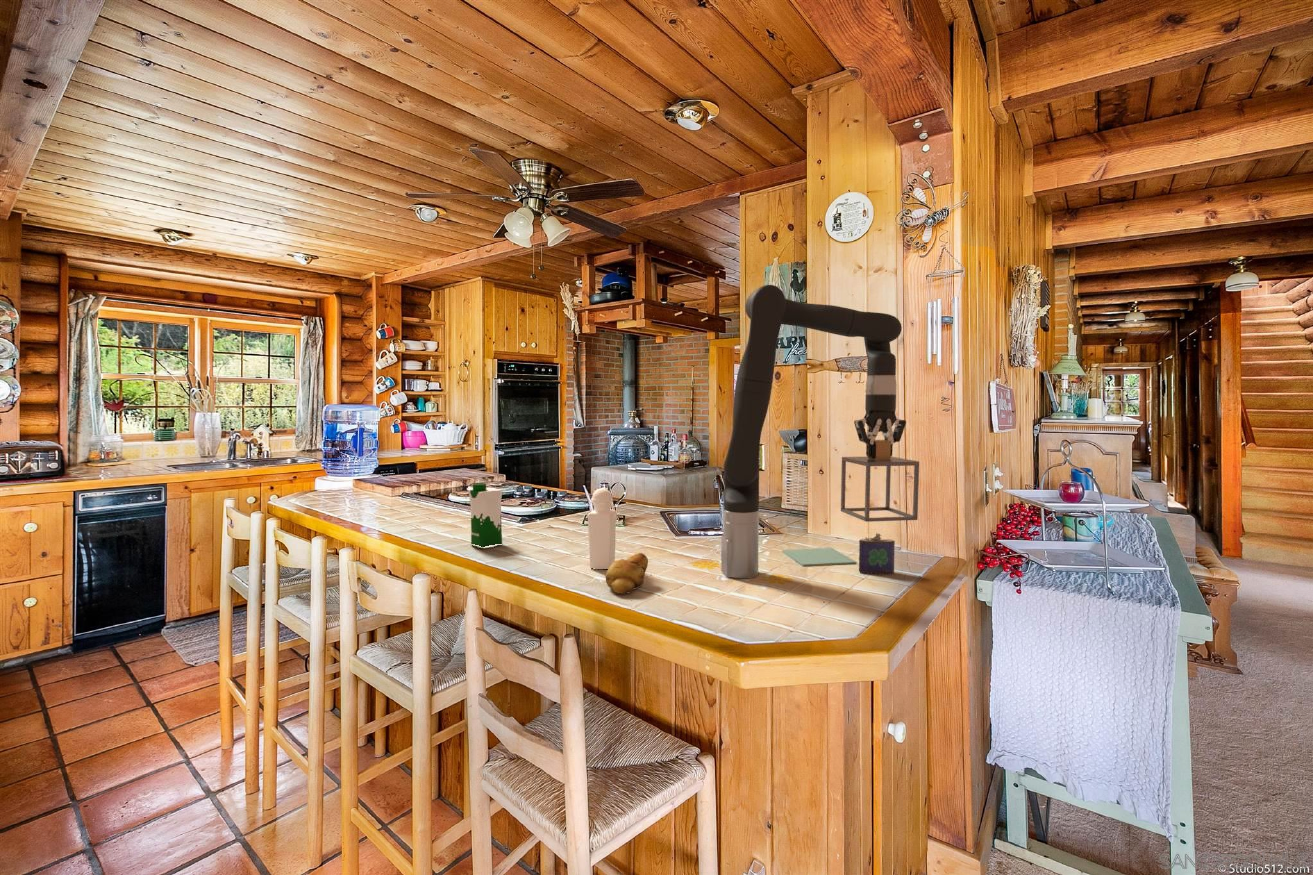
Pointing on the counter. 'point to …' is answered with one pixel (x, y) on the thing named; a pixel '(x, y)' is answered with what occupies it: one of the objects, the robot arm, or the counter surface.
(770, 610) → the counter surface
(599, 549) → the beige bottle
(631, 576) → the bread roll
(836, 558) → the mat
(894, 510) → the metal frame side table
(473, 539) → the milk carton
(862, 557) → the flask
